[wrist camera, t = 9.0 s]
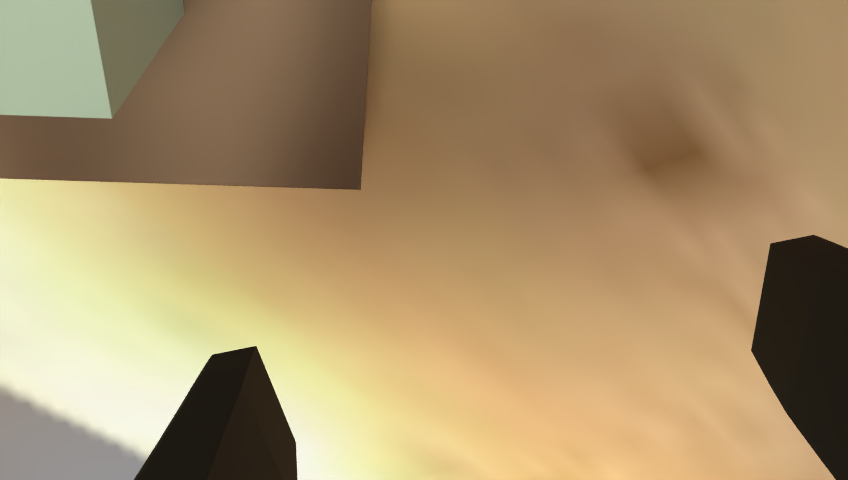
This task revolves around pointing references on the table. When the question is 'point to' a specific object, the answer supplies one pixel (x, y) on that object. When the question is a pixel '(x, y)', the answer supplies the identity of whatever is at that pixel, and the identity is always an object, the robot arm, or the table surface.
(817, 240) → the robot arm
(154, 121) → the walnut base
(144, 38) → the sage block
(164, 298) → the table surface
